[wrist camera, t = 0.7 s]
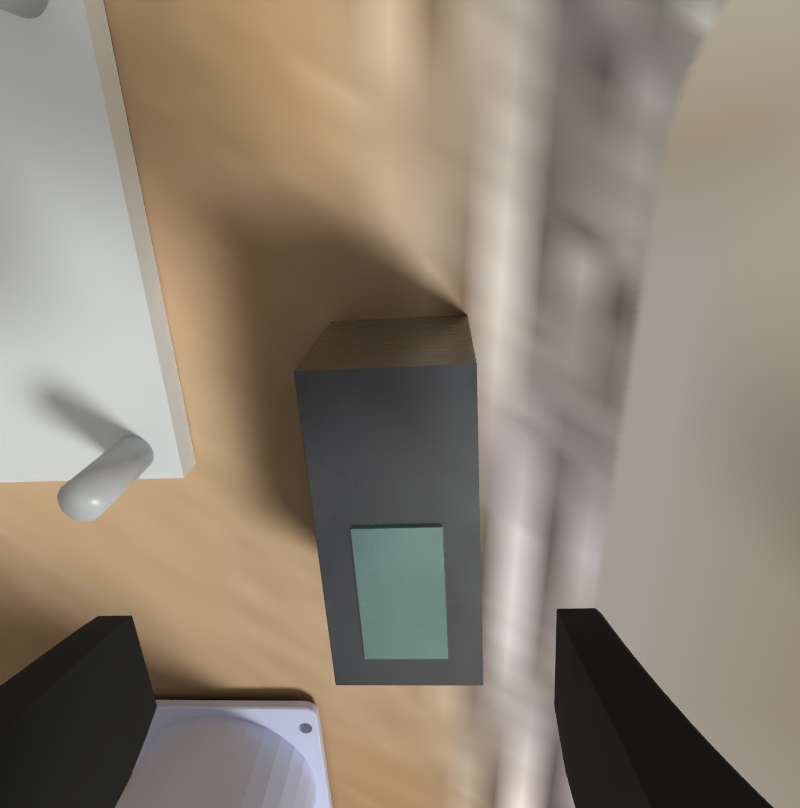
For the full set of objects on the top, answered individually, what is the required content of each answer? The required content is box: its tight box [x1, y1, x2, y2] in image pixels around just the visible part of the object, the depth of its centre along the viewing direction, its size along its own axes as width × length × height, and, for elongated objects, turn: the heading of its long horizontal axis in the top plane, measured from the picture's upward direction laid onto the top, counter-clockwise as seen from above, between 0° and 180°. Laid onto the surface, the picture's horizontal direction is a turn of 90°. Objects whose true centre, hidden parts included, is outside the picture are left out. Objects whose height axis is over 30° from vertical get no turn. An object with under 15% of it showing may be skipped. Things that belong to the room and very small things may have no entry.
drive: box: [294, 315, 483, 685], centre depth 17 cm, size 9×4×5 cm, turn 4°
